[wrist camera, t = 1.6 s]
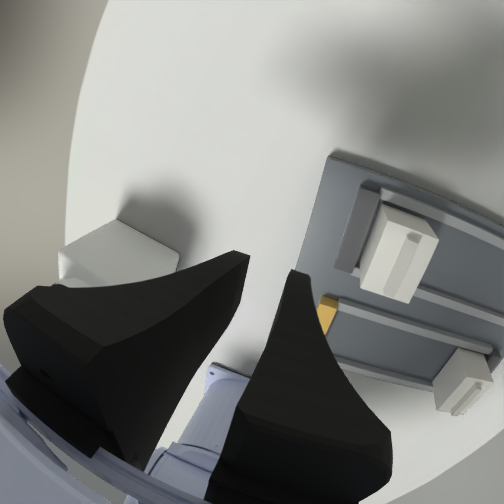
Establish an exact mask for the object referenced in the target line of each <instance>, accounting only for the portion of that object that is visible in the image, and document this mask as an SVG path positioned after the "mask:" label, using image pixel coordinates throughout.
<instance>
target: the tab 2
mask: <svg viewBox="0 0 504 504" xmlns="http://www.w3.org/2000/svg"><path fill="white" fill-rule="evenodd" d="M432 383H433V389H434V396H435V403H436V411H442V412H448V413H451V415H452V416H458V415H459V414H461V415H464V414H465V413H466V412H467V411H468V410H469V409H470V408H471V407H472V406H473V405H474V404H475V403H476V401H477V400H478V399H479V398H480V397H481V396H482V395H483V394H484V393H485V392H486V391H487V389H488V388H489V387H490V386H491V385H492V384H493V383H494V382H493V379H492V376H491V373H490V370H489V367H488V365H487V362H486V359H485V356H484V354H480V353H476V352H473V351H469V350H465V349H462V348H457V350H456V351H455V353H454V354H453V355H452V357H451V358H450V359H449V361H448V362H447V363H446V365H445V366H444V367H443V369H442V370H441V371H440V372H439V374H438V375H437V376H436V377H435V379H434V380H433V381H432Z"/></svg>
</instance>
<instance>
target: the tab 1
mask: <svg viewBox="0 0 504 504" xmlns="http://www.w3.org/2000/svg"><path fill="white" fill-rule="evenodd" d="M438 242H439V239H438V237H437V236H436V234H435V233H434V231H433V230H432V228H431V227H430V225H429V224H428V222H427V221H426V220H425V219H422V218H420V217H417V216H414V215H412V214H409V213H407V212H404V211H401V210H398V209H396V208H393V207H390V206H388V205H385V204H382V203H381V206H380V209H379V212H378V214H377V217H376V220H375V223H374V226H373V228H372V231H371V234H370V237H369V239H368V242H367V245H366V247H365V250H364V252H363V255H362V257H361V260H360V288H361V289H364V290H367V291H370V292H373V293H377V294H380V295H383V296H386V297H389V298H392V299H395V300H398V301H401V302H404V303H407V304H409V302H410V300H411V298H412V296H413V294H414V292H415V290H416V288H417V286H418V284H419V282H420V280H421V278H422V276H423V274H424V272H425V270H426V268H427V266H428V264H429V262H430V260H431V257H432V255H433V253H434V251H435V248H436V246H437V244H438Z"/></svg>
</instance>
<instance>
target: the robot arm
mask: <svg viewBox="0 0 504 504" xmlns="http://www.w3.org/2000/svg"><path fill="white" fill-rule="evenodd" d="M249 260H250V255H247V254H244V253H241V252H238V251H235V250H233V251H230V252H227V253H225V254H222V255H220V256H218V257H215V258H213V259H210V260H208V261H205V262H203V263H200V264H198V265H195V266H192V267H189V268H186V269H183V270H181V271H178V272H175V273H172V274H168V275H165V276H161V277H157V278H153V279H149V280H144V281H139V282H134V283H127V284H119V285H112V286H102V287H80V288H69V287H48V286H36V287H35V288H33V289H32V290H30V291H29V292H28V293H26V294H25V295H24V296H22V297H21V298H19V299H18V300H17V301H15V302H14V303H13V304H11V305H10V306H9V307H7V308H6V309H5V310H4V315H3V320H4V326H5V329H6V332H7V335H8V337H9V339H10V342H11V344H12V346H13V349H14V351H15V353H16V355H17V357H18V359H19V361H20V364H21V367H19V368H18V369H17V370H16V371H15V372H14V373H13V374H12V375H11V374H10V373H9V372H8V371H7V370H6V369H5V368H4V367H3V366H2V365H1V364H0V504H113V503H112V502H110V501H109V500H107V499H105V498H104V497H102V496H101V495H99V494H98V493H96V492H95V491H93V490H91V489H90V488H89V487H87V486H85V485H84V484H83V483H81V482H80V481H79V480H77V479H75V478H74V477H73V476H72V475H70V474H69V473H67V470H68V469H67V466H66V465H65V464H63V462H62V461H60V460H59V458H58V457H57V456H56V455H55V454H54V453H53V452H52V451H51V450H50V449H49V447H48V446H47V445H46V443H45V442H44V440H43V439H42V438H41V437H40V436H39V435H38V434H37V433H36V432H35V431H34V430H33V429H32V428H31V427H30V426H29V425H28V423H27V421H28V422H29V423H30V424H31V425H32V426H33V427H34V428H36V429H37V430H38V431H39V432H40V433H41V434H42V435H43V436H45V437H46V438H47V439H48V440H49V441H51V442H52V443H53V444H54V445H55V446H57V447H58V448H59V449H60V450H62V451H63V452H64V453H66V454H67V455H68V456H70V457H71V458H72V459H74V460H75V461H76V462H78V463H79V464H80V465H82V466H83V467H85V468H86V469H88V470H89V471H91V472H92V473H93V474H95V475H96V476H98V477H100V478H101V479H103V480H104V481H106V482H107V483H109V484H111V485H112V486H114V487H116V488H117V489H119V490H121V491H122V492H124V493H126V494H128V495H127V497H126V500H125V501H124V504H358V503H359V501H361V500H363V499H365V498H367V497H368V496H370V495H372V494H373V493H375V492H377V491H378V490H380V489H381V488H382V487H383V486H385V485H386V484H387V483H388V482H389V480H390V478H391V476H392V464H393V450H392V441H391V431H390V430H389V429H388V428H387V427H386V426H385V425H384V424H383V423H382V422H381V420H380V419H379V418H378V417H377V416H376V415H375V414H374V413H373V412H372V411H371V410H370V408H369V407H368V406H367V405H366V404H365V402H364V401H363V400H362V398H361V397H360V396H359V394H358V393H357V392H356V391H355V389H354V388H353V386H352V385H351V383H350V382H349V380H348V379H347V377H346V376H345V374H344V372H343V371H342V369H341V368H340V366H339V364H338V363H337V361H336V359H335V357H334V355H333V353H332V351H331V349H330V346H329V344H328V342H327V340H326V337H325V335H324V332H323V329H322V326H321V324H320V321H319V317H318V314H317V310H316V307H315V303H314V299H313V293H312V287H311V278H310V276H309V275H308V274H305V273H302V272H299V271H296V270H293V269H291V271H290V273H289V275H288V277H287V280H286V283H285V287H284V290H283V293H282V296H281V299H280V303H279V306H278V309H277V312H276V315H275V318H274V322H273V325H272V328H271V331H270V334H269V337H268V340H267V344H266V347H265V349H264V351H263V354H262V356H261V358H260V360H259V362H258V364H257V366H256V368H255V370H254V372H253V374H252V376H251V378H247V377H244V376H242V375H239V374H236V373H234V372H231V371H229V370H226V369H223V368H221V367H218V366H216V365H210V366H209V367H208V372H207V379H206V385H205V392H204V397H203V399H202V400H201V402H200V404H199V406H198V407H197V409H196V411H195V413H194V414H193V416H192V418H191V420H190V421H189V423H188V425H187V427H186V428H185V430H184V432H183V433H182V435H181V437H180V439H179V440H178V442H177V443H175V442H172V443H171V445H170V447H169V448H168V449H166V448H164V447H160V448H158V449H155V448H156V446H157V444H158V442H159V440H160V438H161V436H162V434H163V432H164V430H165V428H166V426H167V424H168V422H169V420H170V418H171V416H172V414H173V413H174V411H175V409H176V407H177V405H178V403H179V401H180V399H181V398H182V396H183V394H184V392H185V390H186V388H187V387H188V385H189V383H190V381H191V379H192V378H193V376H194V375H195V373H196V371H197V370H198V368H199V367H200V366H201V364H202V363H203V361H204V360H205V359H206V357H207V356H208V354H209V353H210V351H211V350H212V349H213V347H214V346H215V344H216V343H217V342H218V340H219V339H220V337H221V336H222V334H223V333H224V331H225V330H226V329H227V327H228V326H229V324H230V322H231V320H232V318H233V316H234V314H235V312H236V310H237V308H238V306H239V304H240V301H241V296H242V292H243V287H244V283H245V278H246V273H247V269H248V264H249Z"/></svg>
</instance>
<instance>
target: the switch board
mask: <svg viewBox="0 0 504 504" xmlns="http://www.w3.org/2000/svg"><path fill="white" fill-rule="evenodd" d="M381 203H382V204H385V205H388V206H390V207H393V208H396V209H398V210H401V211H404V212H407V213H409V214H412V215H414V216H417V217H420V218H422V219H425V220H426V221H427V222H428V224H429V225H430V227H431V228H432V230H433V231H434V233H435V234H436V236H437V237H438V239H439V242H438V244H437V246H436V248H435V251H434V253H433V255H432V257H431V260H430V262H429V264H428V266H427V268H426V270H425V272H424V274H423V276H422V278H421V280H420V282H419V284H418V286H417V288H416V290H415V292H414V294H413V296H412V298H411V300H410V302H409V304H407V303H404V302H401V301H398V300H395V299H392V298H389V297H386V296H383V295H380V294H377V293H373V292H370V291H367V290H364V289H361V288H360V260H361V257H362V255H363V252H364V250H365V247H366V245H367V242H368V239H369V237H370V234H371V231H372V228H373V226H374V223H375V220H376V217H377V214H378V212H379V209H380V206H381ZM295 270H296V271H299V272H302V273H305V274H308V275H309V276H310V278H311V287H312V293H313V299H314V303H315V307H316V310H317V314H318V317H319V321H320V324H321V326H322V329H323V332H324V335H325V337H326V340H327V342H328V344H329V346H330V349H331V351H332V353H333V355H334V357H335V359H336V361H337V363H338V364H339V366H340V368H341V369H343V370H346V371H350V372H353V373H357V374H360V375H364V376H368V377H372V378H375V379H379V380H383V381H387V382H391V383H395V384H399V385H403V386H408V387H412V388H416V389H421V390H425V391H430V392H434V389H433V383H432V381H433V380H434V379H435V377H436V376H437V375H438V374H439V372H440V371H441V370H442V369H443V367H444V366H445V365H446V363H447V362H448V361H449V359H450V358H451V357H452V355H453V354H454V353H455V351H456V350H457V348H462V349H465V350H469V351H473V352H476V353H480V354H484V356H485V359H486V362H487V365H488V367H489V370H490V373H492V372H493V371H494V369H495V368H496V367H497V366H498V364H499V363H500V362H501V360H502V359H503V358H504V226H503V225H501V224H499V223H497V222H495V221H493V220H491V219H489V218H487V217H485V216H483V215H481V214H478V213H476V212H474V211H472V210H470V209H468V208H466V207H464V206H461V205H459V204H457V203H455V202H452V201H450V200H448V199H446V198H443V197H441V196H439V195H436V194H434V193H431V192H429V191H427V190H424V189H422V188H419V187H417V186H414V185H411V184H409V183H406V182H404V181H401V180H398V179H396V178H393V177H390V176H387V175H385V174H382V173H379V172H376V171H373V170H370V169H367V168H364V167H361V166H358V165H355V164H352V163H349V162H346V161H343V160H340V159H336V158H333V157H330V156H328V157H327V160H326V163H325V167H324V171H323V175H322V178H321V182H320V186H319V189H318V193H317V196H316V200H315V204H314V207H313V211H312V214H311V218H310V221H309V225H308V228H307V231H306V235H305V238H304V241H303V245H302V248H301V251H300V255H299V258H298V261H297V265H296V268H295Z"/></svg>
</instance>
